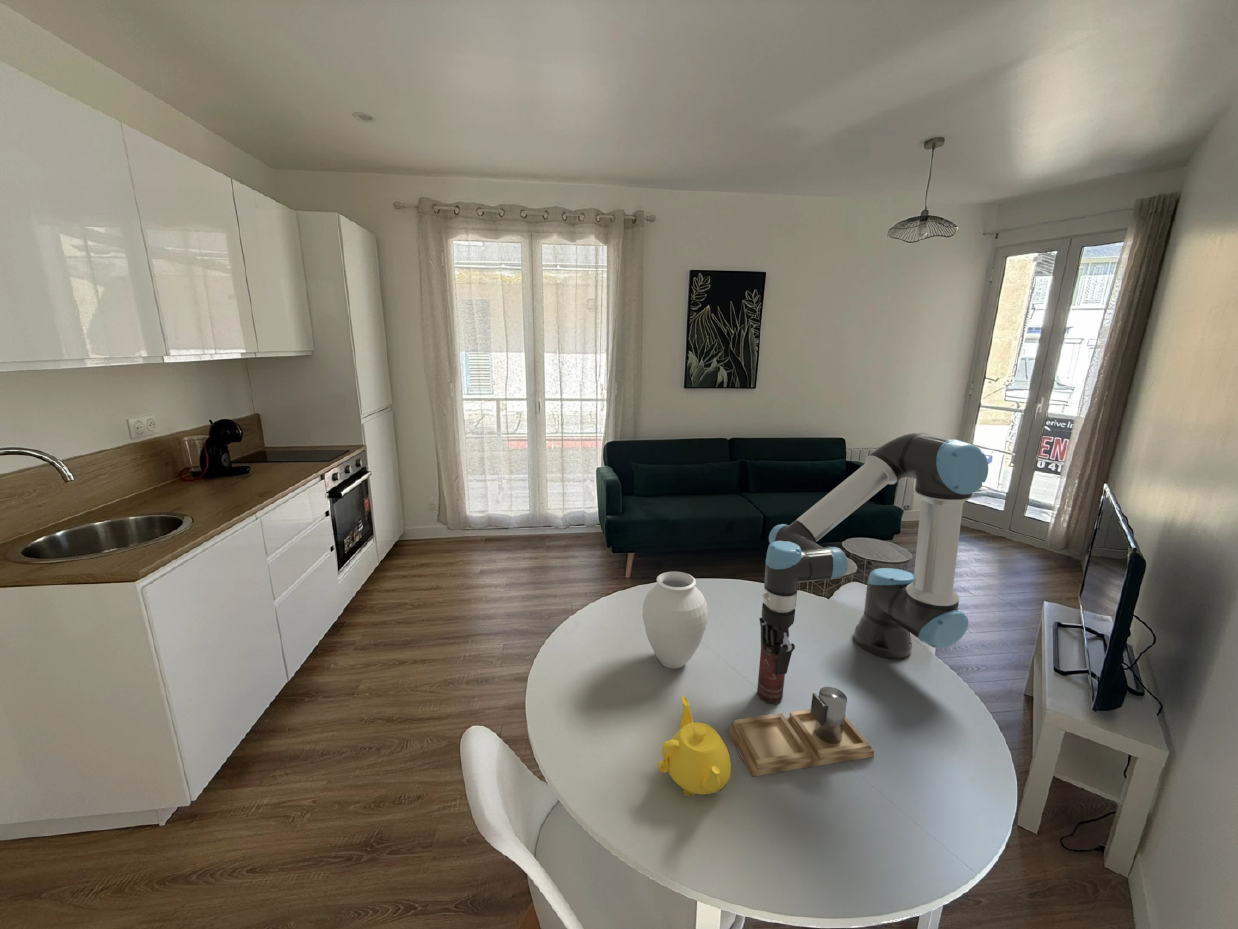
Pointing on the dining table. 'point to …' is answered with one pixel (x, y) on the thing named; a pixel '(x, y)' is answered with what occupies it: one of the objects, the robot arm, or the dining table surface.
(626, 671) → the dining table surface
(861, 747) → the tray
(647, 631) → the vase
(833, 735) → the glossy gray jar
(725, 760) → the teapot
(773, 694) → the can
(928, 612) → the robot arm
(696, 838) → the dining table surface
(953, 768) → the dining table surface
